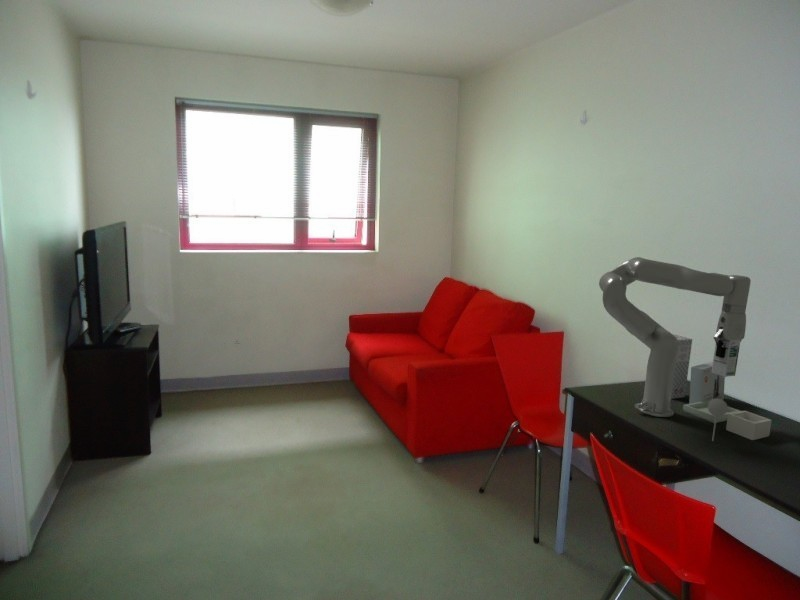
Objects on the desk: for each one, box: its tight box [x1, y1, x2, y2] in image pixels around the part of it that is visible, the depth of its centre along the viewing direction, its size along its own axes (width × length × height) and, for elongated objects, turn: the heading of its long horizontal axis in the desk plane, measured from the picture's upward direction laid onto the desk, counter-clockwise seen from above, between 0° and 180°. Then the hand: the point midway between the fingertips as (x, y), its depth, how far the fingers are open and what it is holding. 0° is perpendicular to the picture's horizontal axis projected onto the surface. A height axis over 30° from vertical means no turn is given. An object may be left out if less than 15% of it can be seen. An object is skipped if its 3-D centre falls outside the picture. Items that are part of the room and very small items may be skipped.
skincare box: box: [688, 361, 726, 404], centre depth 226 cm, size 21×5×16 cm, turn 128°
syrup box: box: [712, 337, 742, 378], centre depth 205 cm, size 6×6×14 cm
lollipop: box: [708, 398, 728, 442], centre depth 185 cm, size 6×6×15 cm
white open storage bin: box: [725, 410, 773, 441], centre depth 195 cm, size 10×10×6 cm
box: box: [671, 334, 693, 400], centre depth 231 cm, size 8×8×25 cm
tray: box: [682, 400, 741, 424], centre depth 212 cm, size 16×13×2 cm
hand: (725, 356), depth 205 cm, fingers closed on syrup box, 5 cm apart
